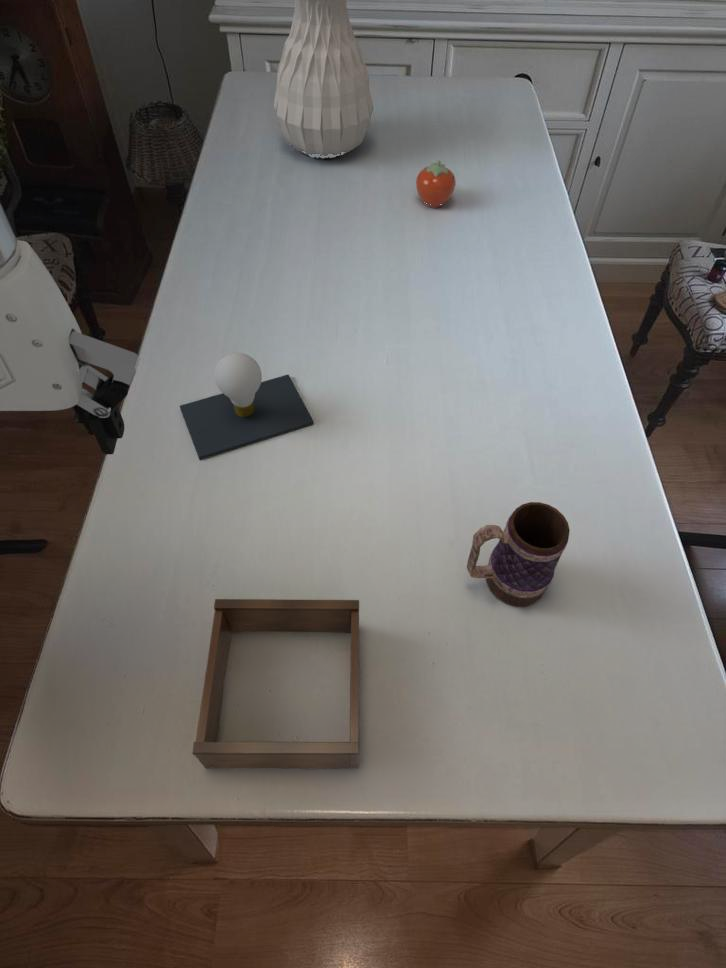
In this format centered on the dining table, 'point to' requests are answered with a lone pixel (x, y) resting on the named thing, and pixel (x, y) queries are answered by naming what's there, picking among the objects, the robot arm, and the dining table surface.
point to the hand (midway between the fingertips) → (48, 440)
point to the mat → (245, 418)
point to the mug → (521, 553)
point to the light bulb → (239, 381)
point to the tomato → (435, 184)
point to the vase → (322, 81)
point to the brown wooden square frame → (226, 619)
